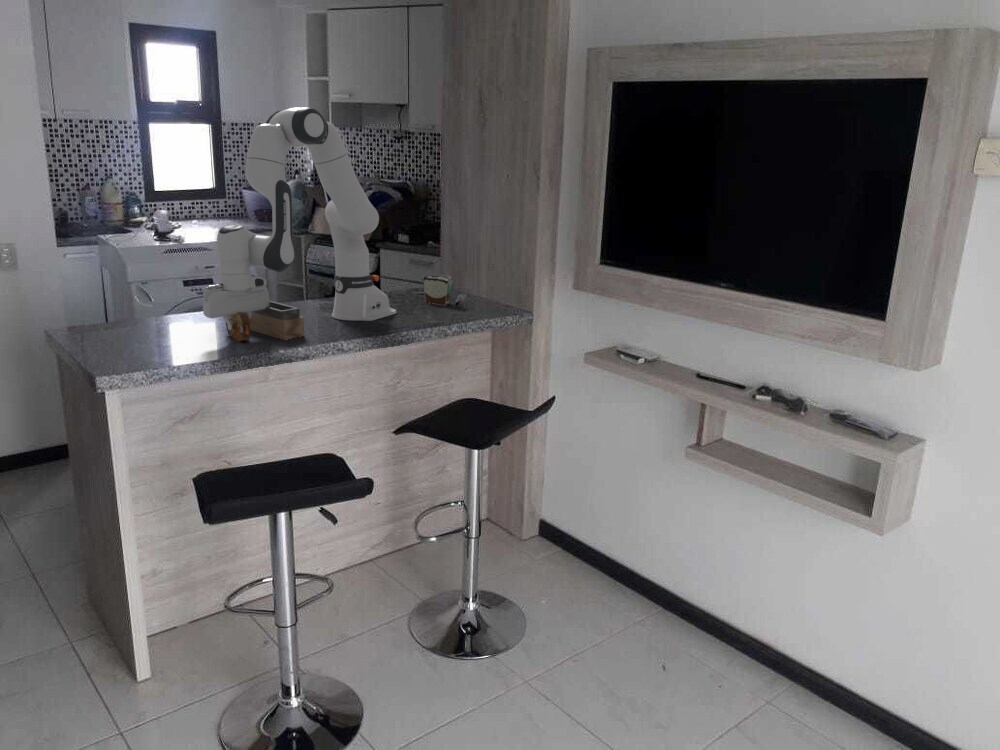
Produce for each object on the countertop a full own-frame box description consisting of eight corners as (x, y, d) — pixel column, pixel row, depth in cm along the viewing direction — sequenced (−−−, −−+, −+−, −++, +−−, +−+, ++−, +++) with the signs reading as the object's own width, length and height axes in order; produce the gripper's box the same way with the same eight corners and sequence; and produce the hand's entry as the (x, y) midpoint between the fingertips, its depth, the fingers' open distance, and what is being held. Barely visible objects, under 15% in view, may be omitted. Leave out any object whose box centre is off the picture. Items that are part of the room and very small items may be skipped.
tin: (225, 333, 244) (223, 306, 242) (236, 332, 246) (233, 305, 244) (242, 344, 233) (240, 316, 230) (253, 343, 235) (251, 315, 232)
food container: (458, 303, 297) (459, 277, 294) (449, 306, 292) (449, 279, 289) (431, 299, 303) (432, 273, 300) (421, 301, 298) (422, 275, 295)
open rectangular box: (261, 323, 258) (260, 297, 255) (304, 336, 244) (303, 309, 242) (242, 327, 252) (240, 300, 250) (284, 340, 239) (283, 312, 237)
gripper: (208, 288, 225) (212, 336, 229) (271, 279, 240) (273, 324, 244) (196, 284, 229) (200, 332, 233) (258, 276, 244) (261, 320, 248)
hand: (238, 328), depth 239 cm, fingers closed on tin, 3 cm apart
